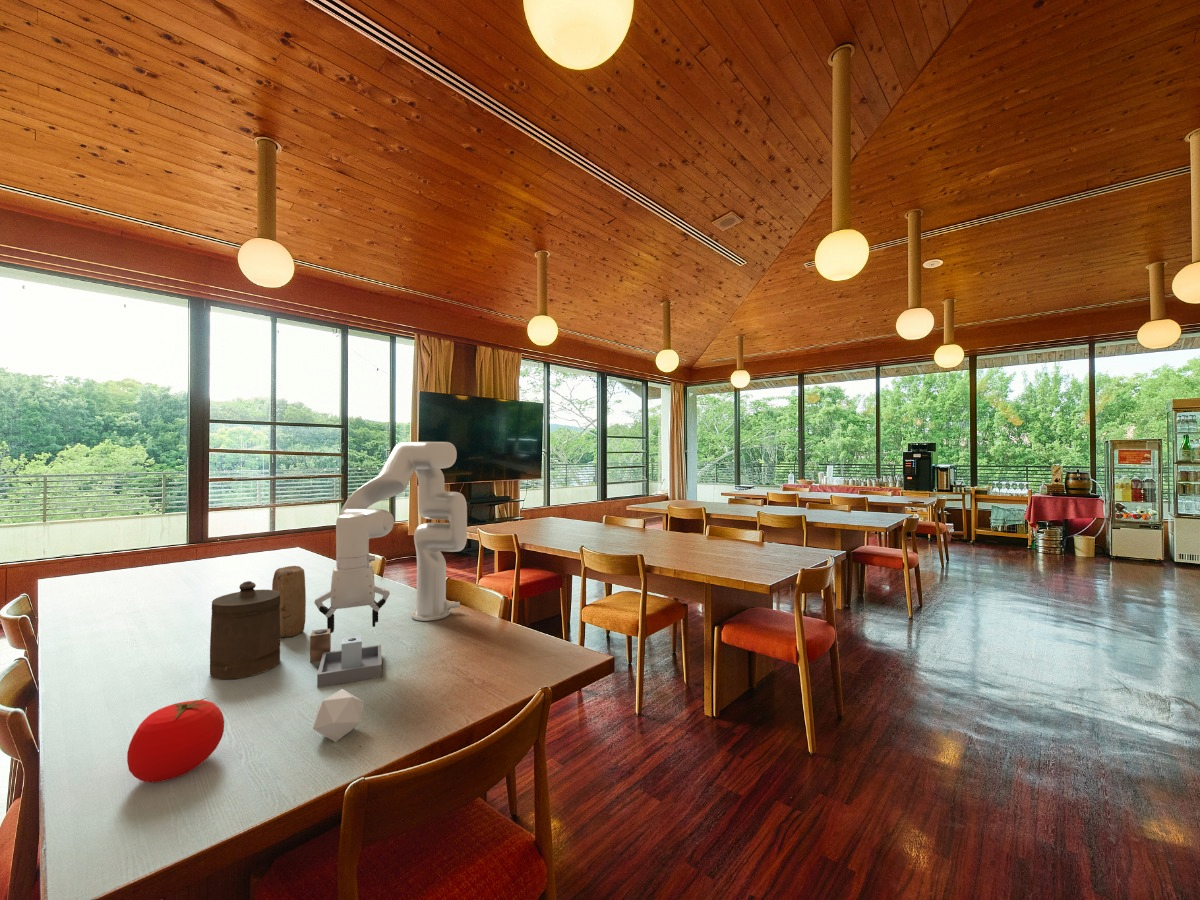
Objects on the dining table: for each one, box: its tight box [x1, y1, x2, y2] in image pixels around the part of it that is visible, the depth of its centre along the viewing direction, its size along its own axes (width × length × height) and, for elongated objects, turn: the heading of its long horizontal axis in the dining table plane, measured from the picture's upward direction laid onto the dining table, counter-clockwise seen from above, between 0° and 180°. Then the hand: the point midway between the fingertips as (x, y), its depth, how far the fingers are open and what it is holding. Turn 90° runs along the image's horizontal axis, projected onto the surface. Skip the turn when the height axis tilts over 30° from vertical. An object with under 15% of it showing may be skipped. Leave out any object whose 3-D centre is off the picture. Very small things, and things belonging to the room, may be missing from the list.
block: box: [271, 565, 307, 638], centre depth 153 cm, size 11×8×20 cm
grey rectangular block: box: [341, 635, 363, 670], centre depth 127 cm, size 4×4×7 cm
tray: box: [316, 644, 383, 688], centre depth 127 cm, size 14×14×3 cm
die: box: [312, 688, 364, 743], centre depth 98 cm, size 8×9×10 cm
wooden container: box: [209, 580, 281, 680], centre depth 129 cm, size 15×15×22 cm
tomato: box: [126, 697, 225, 783], centre depth 87 cm, size 12×14×11 cm
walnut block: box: [309, 628, 332, 663], centre depth 135 cm, size 4×4×7 cm
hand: (353, 628), depth 128 cm, fingers open, 9 cm apart
